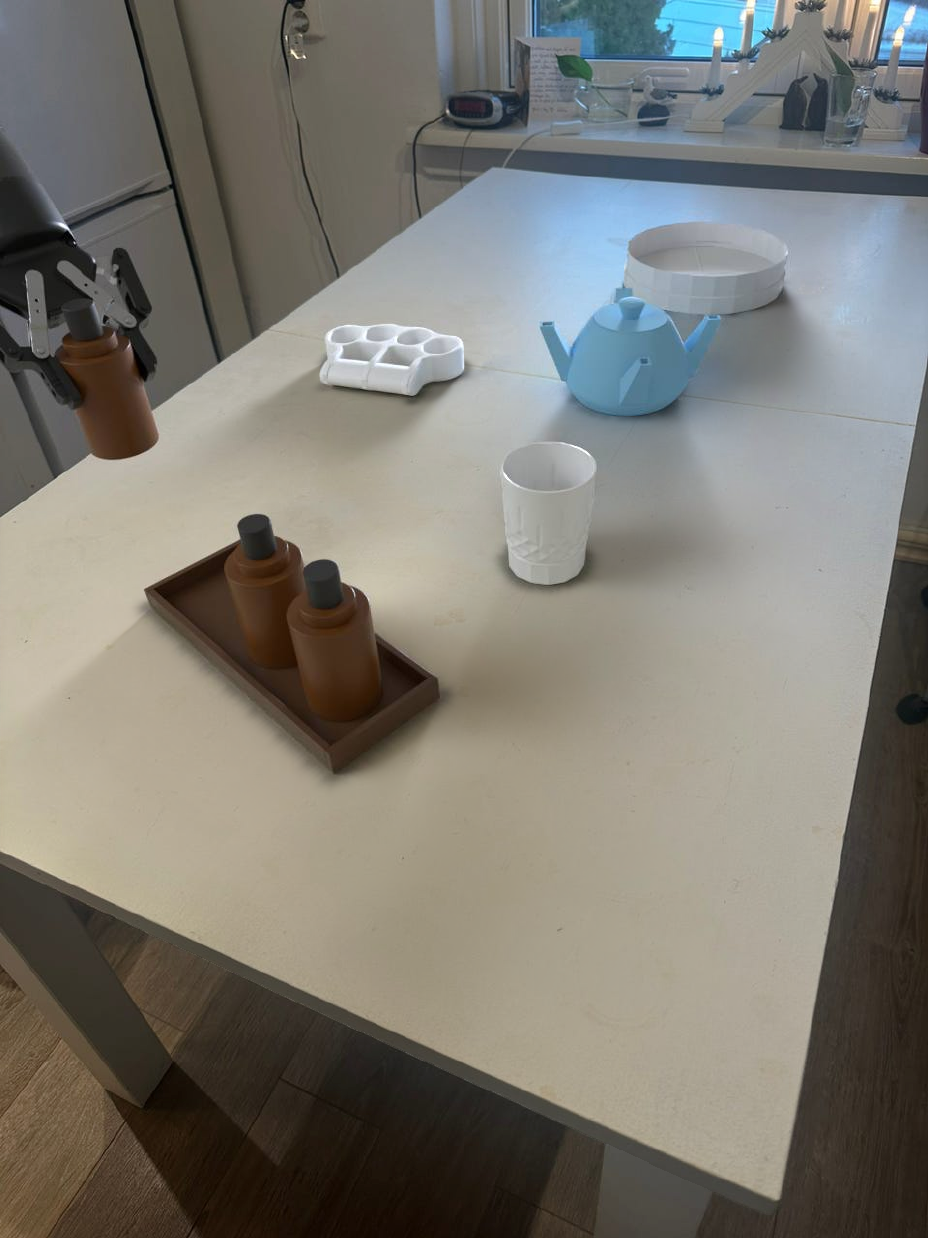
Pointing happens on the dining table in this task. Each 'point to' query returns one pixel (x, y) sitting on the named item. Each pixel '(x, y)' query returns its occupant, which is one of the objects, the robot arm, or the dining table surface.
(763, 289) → the dish
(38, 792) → the dining table surface
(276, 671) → the tray
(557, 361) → the teapot
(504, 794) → the dining table surface
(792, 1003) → the dining table surface
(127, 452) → the bottle
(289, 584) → the bottle mid
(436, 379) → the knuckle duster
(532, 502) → the white cup
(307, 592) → the bottle near
